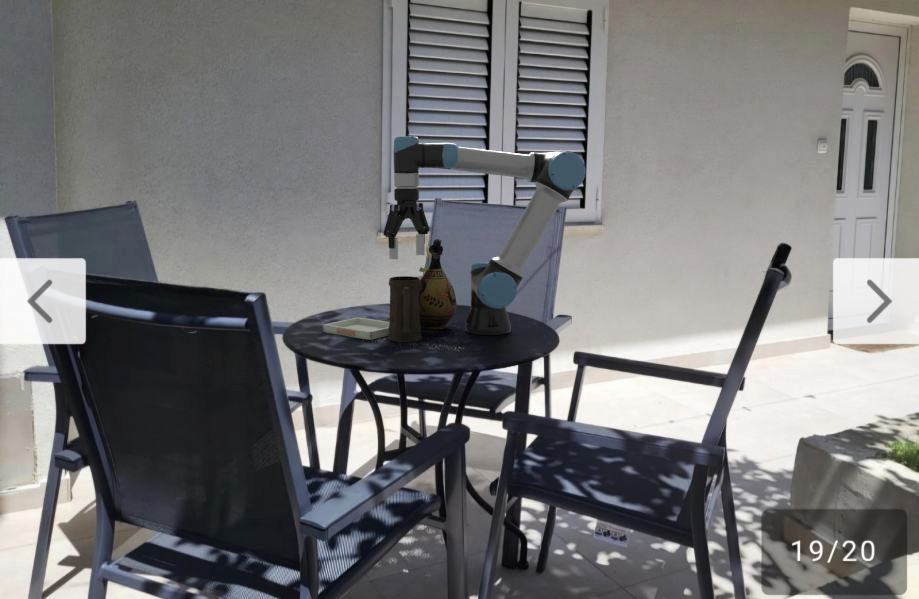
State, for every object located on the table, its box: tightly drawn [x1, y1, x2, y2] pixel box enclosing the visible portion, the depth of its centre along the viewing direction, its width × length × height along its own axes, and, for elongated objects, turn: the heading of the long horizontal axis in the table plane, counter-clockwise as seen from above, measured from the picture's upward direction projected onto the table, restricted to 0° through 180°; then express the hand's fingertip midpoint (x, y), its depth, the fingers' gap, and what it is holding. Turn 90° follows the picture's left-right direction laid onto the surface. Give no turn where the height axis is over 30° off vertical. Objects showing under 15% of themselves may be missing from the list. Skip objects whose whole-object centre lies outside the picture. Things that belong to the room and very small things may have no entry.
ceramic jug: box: [418, 238, 457, 331], centre depth 288 cm, size 17×15×30 cm
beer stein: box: [387, 275, 423, 343], centre depth 266 cm, size 15×11×20 cm
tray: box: [322, 316, 389, 341], centre depth 280 cm, size 17×21×2 cm
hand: (407, 257), depth 262 cm, fingers open, 13 cm apart
